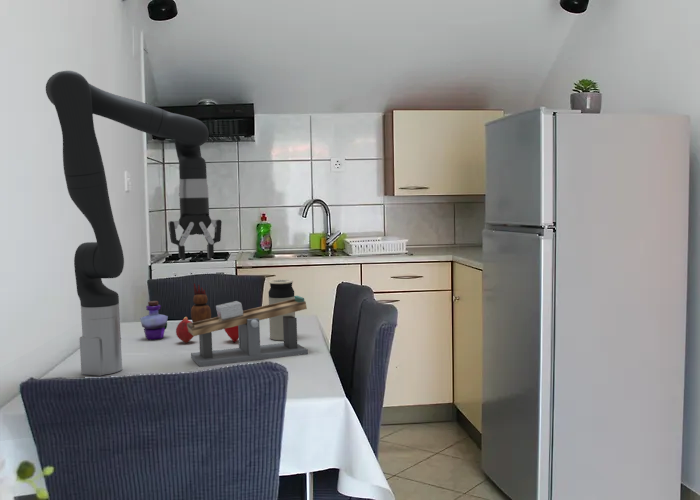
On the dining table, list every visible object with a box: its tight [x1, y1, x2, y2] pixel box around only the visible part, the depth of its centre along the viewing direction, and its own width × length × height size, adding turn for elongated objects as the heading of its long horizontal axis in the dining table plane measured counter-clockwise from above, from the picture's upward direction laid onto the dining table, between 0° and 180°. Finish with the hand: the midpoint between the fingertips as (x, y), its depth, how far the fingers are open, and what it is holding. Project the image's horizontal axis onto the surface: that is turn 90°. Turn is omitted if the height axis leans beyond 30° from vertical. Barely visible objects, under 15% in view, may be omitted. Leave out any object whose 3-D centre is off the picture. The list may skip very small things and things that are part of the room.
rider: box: [215, 300, 244, 321], centre depth 185 cm, size 6×5×4 cm
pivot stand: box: [190, 316, 309, 367], centre depth 187 cm, size 30×14×11 cm, turn 113°
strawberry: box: [223, 326, 239, 343], centre depth 206 cm, size 6×8×10 cm
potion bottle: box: [139, 300, 169, 341], centre depth 215 cm, size 9×9×12 cm
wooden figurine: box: [190, 283, 212, 323], centre depth 235 cm, size 7×6×15 cm
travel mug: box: [268, 279, 296, 342], centre depth 210 cm, size 8×8×18 cm
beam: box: [187, 295, 307, 337], centre depth 187 cm, size 32×8×3 cm, turn 113°
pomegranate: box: [175, 316, 195, 344], centre depth 207 cm, size 6×6×8 cm
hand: (196, 259), depth 180 cm, fingers open, 6 cm apart
